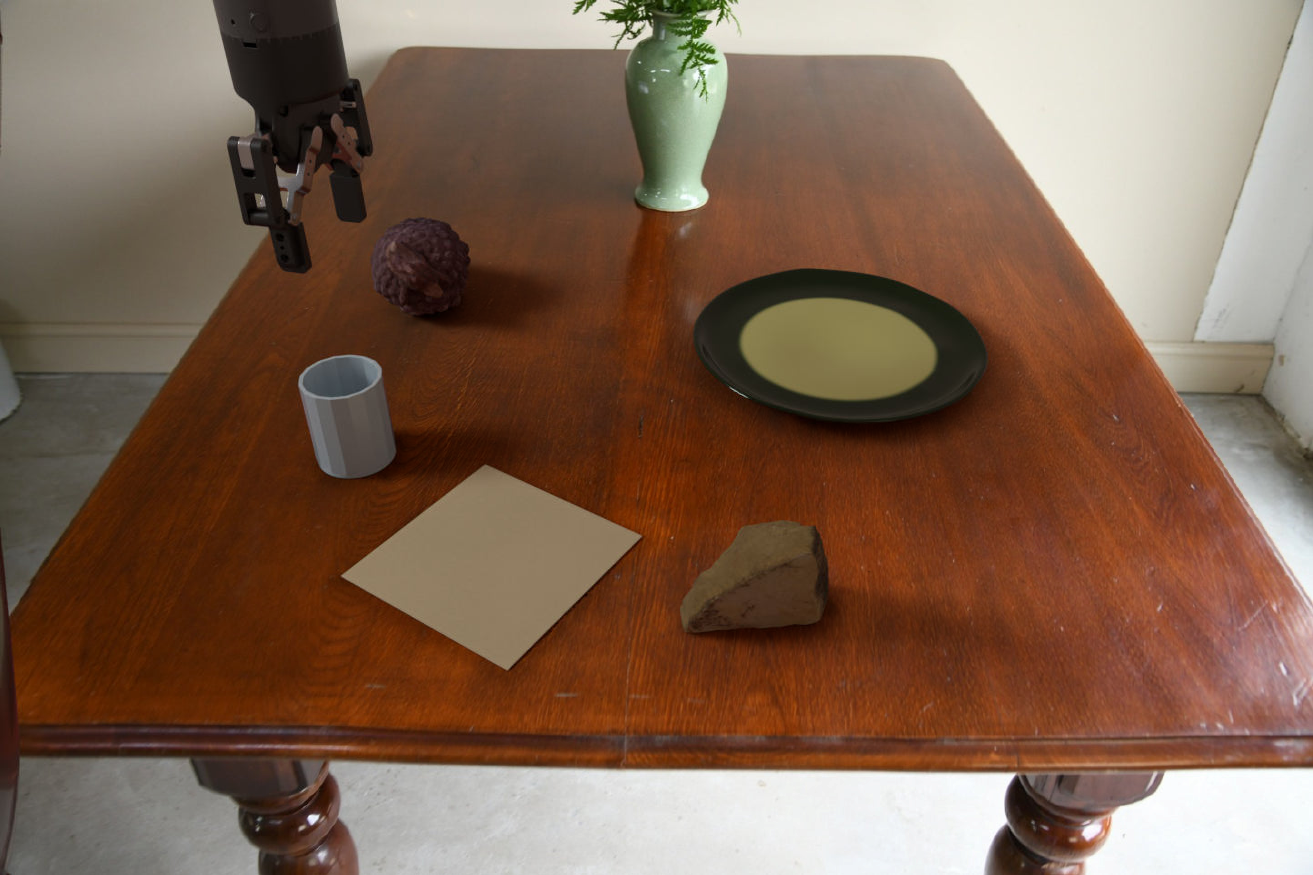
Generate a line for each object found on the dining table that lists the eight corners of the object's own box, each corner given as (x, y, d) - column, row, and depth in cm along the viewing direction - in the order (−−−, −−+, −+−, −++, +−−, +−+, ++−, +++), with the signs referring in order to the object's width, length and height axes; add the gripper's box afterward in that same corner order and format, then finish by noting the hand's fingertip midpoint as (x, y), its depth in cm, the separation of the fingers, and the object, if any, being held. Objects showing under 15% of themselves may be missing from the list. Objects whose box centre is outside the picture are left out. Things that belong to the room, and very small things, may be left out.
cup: (355, 488, 84) (337, 408, 79) (301, 461, 87) (281, 382, 82) (412, 448, 88) (398, 370, 83) (359, 423, 91) (342, 346, 86)
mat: (507, 670, 69) (507, 669, 69) (341, 576, 76) (340, 575, 76) (642, 536, 79) (642, 535, 79) (485, 465, 86) (485, 464, 86)
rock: (655, 638, 68) (805, 660, 65) (666, 509, 68) (816, 524, 65) (701, 617, 78) (832, 635, 75) (710, 505, 78) (842, 518, 75)
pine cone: (354, 274, 113) (387, 189, 111) (439, 306, 117) (472, 225, 115) (360, 310, 97) (398, 212, 96) (458, 346, 101) (496, 253, 99)
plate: (660, 305, 108) (660, 284, 107) (903, 274, 114) (907, 254, 112) (744, 464, 86) (746, 441, 85) (1039, 417, 92) (1046, 394, 91)
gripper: (283, -13, 73) (326, 201, 83) (160, 43, 62) (227, 283, 72) (380, -6, 72) (412, 211, 81) (272, 52, 61) (325, 295, 70)
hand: (325, 244), depth 76 cm, fingers open, 8 cm apart
